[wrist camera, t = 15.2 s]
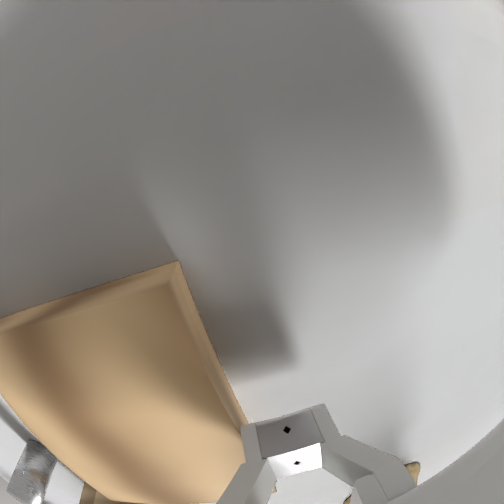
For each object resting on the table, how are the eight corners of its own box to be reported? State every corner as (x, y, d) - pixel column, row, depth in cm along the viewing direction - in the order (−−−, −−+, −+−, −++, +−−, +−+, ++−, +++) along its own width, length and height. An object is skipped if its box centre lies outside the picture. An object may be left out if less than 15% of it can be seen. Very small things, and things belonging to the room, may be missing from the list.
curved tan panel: (181, 256, 8) (167, 285, 6) (268, 456, 12) (276, 491, 9) (-3, 316, 8) (-32, 341, 5) (117, 471, 11) (111, 500, 9)
